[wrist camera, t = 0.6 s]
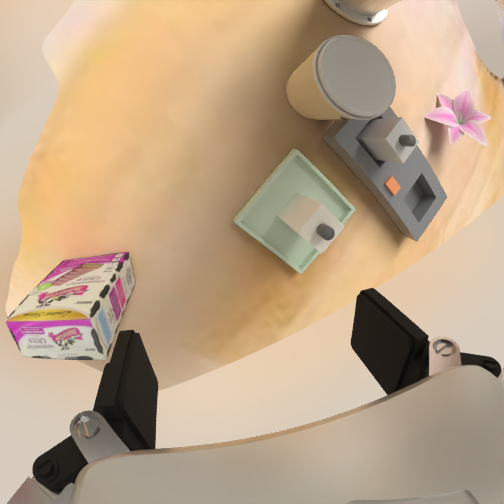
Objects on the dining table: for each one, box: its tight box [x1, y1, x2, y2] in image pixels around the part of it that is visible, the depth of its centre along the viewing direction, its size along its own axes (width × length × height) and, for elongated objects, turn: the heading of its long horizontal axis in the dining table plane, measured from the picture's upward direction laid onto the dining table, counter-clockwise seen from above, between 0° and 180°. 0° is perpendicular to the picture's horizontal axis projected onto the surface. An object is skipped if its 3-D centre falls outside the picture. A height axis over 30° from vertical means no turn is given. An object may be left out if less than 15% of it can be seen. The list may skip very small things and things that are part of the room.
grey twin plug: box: [356, 117, 419, 163], centre depth 30 cm, size 4×4×10 cm
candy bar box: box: [6, 252, 136, 360], centre depth 27 cm, size 11×5×16 cm, turn 93°
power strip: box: [322, 106, 447, 241], centre depth 35 cm, size 22×10×4 cm, turn 49°
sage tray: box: [233, 149, 356, 274], centre depth 36 cm, size 12×12×2 cm
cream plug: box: [277, 192, 345, 254], centre depth 32 cm, size 4×4×10 cm
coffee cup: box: [286, 35, 396, 120], centre depth 26 cm, size 9×9×12 cm
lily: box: [425, 88, 491, 146], centre depth 33 cm, size 12×12×10 cm
